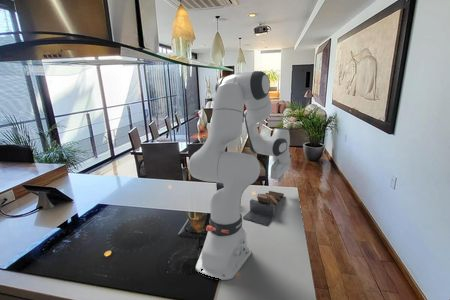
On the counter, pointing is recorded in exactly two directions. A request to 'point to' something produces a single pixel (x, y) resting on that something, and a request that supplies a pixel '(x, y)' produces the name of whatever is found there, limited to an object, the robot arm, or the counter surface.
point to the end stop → (260, 212)
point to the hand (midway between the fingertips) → (280, 181)
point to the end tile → (276, 193)
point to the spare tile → (272, 199)
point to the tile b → (274, 196)
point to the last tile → (263, 198)
